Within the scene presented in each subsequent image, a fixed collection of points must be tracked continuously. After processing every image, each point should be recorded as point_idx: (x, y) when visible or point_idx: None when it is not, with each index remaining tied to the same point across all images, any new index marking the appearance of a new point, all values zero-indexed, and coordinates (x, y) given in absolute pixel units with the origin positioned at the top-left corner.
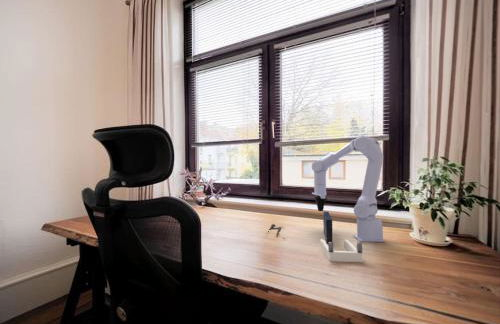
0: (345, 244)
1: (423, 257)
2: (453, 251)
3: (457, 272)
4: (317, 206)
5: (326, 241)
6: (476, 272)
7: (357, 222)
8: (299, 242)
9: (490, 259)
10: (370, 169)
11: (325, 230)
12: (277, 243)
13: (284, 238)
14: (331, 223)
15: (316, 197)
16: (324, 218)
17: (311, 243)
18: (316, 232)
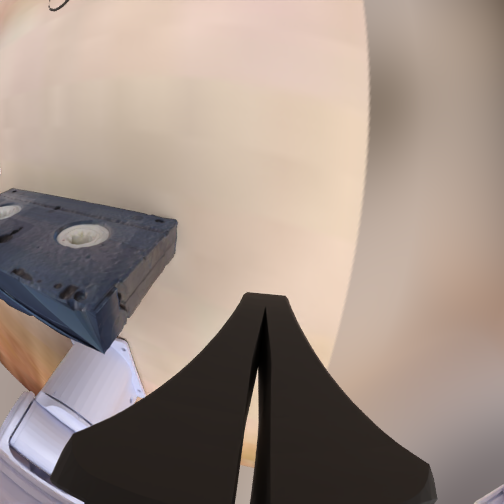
0: None
1: (35, 370)
2: None
3: (8, 360)
4: (270, 331)
5: (7, 191)
6: (21, 379)
7: (60, 382)
8: (20, 76)
9: None
10: None
11: (19, 211)
12: (27, 5)
13: (64, 2)
14: None
15: (77, 498)
16: (9, 247)
17: (11, 126)
18: (160, 166)
